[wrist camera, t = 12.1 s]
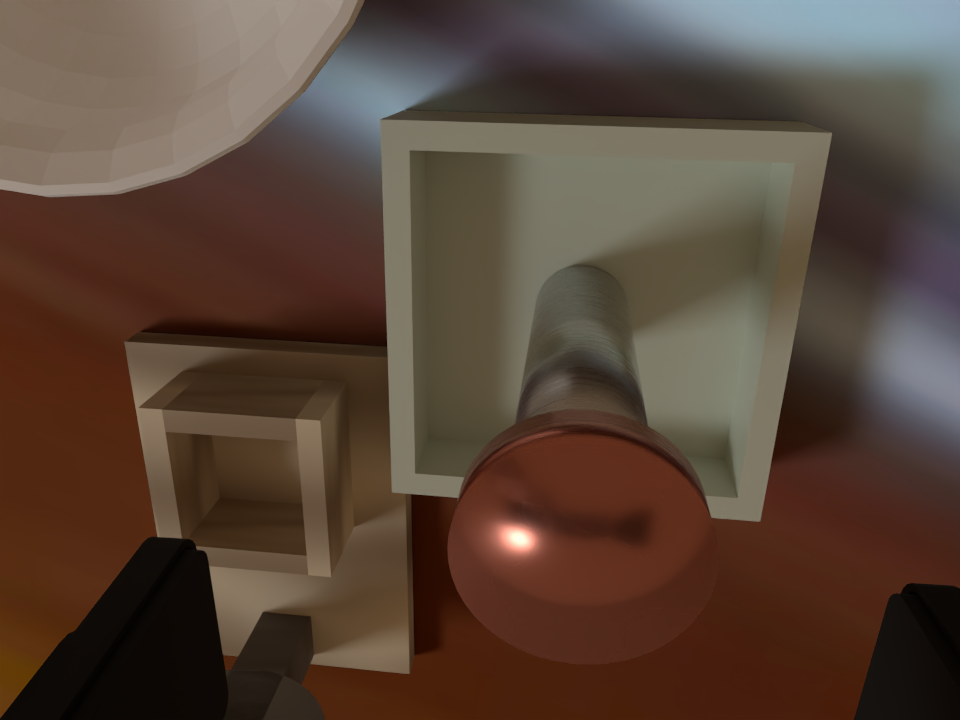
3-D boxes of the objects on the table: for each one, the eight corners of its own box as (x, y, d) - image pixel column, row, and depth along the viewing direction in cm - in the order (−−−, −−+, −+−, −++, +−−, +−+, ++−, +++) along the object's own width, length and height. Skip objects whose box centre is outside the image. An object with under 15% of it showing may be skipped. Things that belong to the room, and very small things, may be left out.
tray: (403, 110, 24) (380, 119, 21) (800, 121, 23) (832, 133, 20) (410, 447, 29) (391, 492, 26) (741, 471, 28) (760, 521, 25)
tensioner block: (139, 331, 28) (-106, 494, 18) (408, 348, 27) (308, 529, 17) (188, 633, 34) (20, 888, 23) (414, 656, 33) (341, 932, 22)
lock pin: (513, 236, 25) (446, 432, 13) (659, 243, 24) (737, 453, 12) (509, 368, 26) (447, 651, 14) (645, 377, 26) (700, 676, 14)
